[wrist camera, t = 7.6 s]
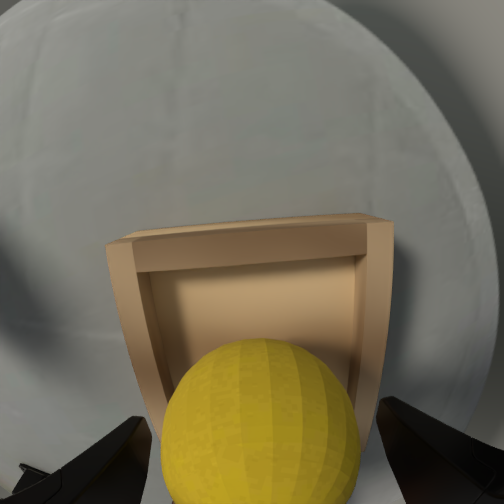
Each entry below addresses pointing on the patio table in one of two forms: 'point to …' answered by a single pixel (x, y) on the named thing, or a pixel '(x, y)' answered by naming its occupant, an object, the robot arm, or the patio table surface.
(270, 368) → the lemon
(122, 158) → the patio table surface
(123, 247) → the wooden tray
